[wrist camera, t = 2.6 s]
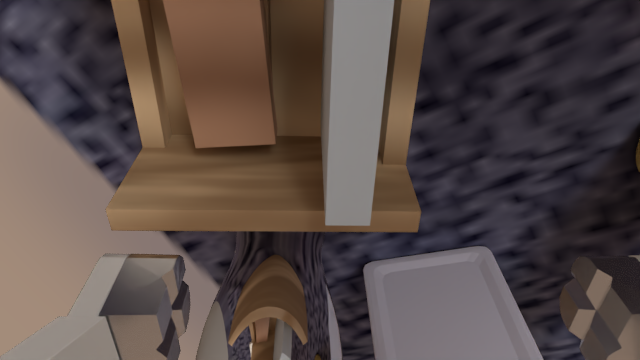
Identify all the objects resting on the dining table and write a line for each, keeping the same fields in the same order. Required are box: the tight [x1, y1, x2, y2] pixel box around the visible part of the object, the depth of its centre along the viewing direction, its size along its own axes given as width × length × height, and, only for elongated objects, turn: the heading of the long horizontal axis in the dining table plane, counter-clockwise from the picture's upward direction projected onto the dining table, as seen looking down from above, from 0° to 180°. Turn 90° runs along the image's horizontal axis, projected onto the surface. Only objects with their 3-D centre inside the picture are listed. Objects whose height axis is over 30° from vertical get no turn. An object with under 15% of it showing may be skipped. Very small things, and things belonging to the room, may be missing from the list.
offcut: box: [163, 0, 278, 148], centre depth 21 cm, size 8×4×2 cm, turn 3°
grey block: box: [321, 0, 394, 226], centre depth 20 cm, size 10×2×9 cm, turn 179°
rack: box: [106, 0, 430, 232], centre depth 21 cm, size 14×14×8 cm
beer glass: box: [196, 231, 343, 360], centre depth 25 cm, size 7×7×15 cm
